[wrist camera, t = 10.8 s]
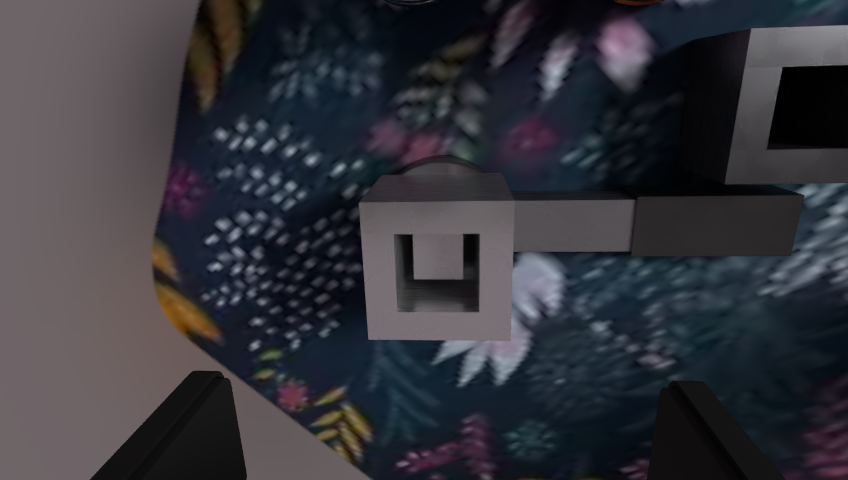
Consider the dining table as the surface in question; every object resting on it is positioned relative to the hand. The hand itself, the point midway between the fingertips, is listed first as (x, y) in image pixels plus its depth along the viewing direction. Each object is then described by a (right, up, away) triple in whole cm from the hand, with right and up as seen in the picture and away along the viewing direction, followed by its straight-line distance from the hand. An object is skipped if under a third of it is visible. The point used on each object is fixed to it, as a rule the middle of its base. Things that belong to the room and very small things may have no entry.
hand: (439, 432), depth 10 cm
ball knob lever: (+8, +6, +17) cm, 20 cm away
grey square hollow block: (+17, +11, +14) cm, 25 cm away
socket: (+1, +5, +15) cm, 15 cm away
